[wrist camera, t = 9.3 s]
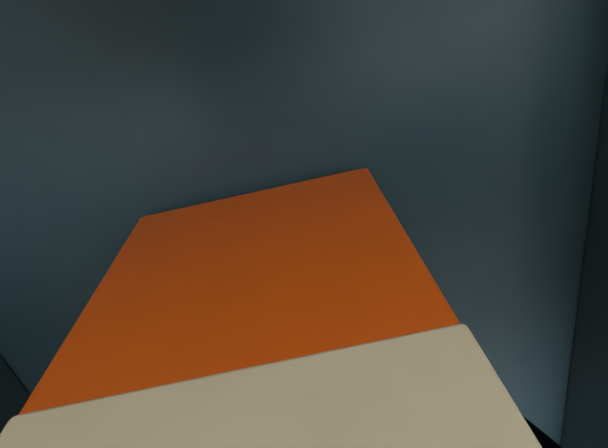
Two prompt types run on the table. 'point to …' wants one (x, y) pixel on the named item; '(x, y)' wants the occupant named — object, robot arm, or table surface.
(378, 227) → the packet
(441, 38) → the tray
